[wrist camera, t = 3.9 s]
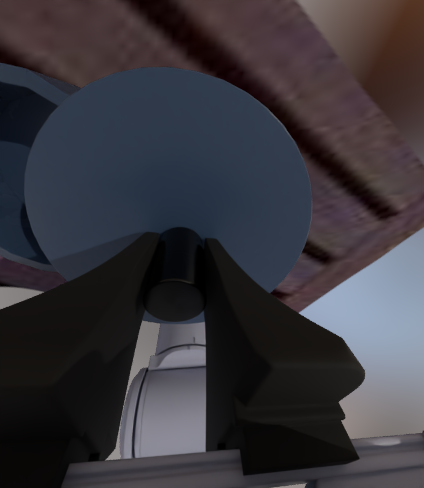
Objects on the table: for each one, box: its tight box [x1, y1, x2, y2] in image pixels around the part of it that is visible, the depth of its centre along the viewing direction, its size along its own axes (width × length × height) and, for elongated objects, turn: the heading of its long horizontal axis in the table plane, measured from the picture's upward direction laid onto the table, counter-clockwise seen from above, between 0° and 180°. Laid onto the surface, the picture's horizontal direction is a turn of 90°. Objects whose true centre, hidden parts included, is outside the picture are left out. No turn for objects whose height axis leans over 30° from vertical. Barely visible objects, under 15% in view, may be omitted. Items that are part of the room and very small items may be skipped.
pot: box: [0, 63, 81, 272], centre depth 15 cm, size 14×14×5 cm
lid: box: [24, 67, 312, 324], centre depth 9 cm, size 15×15×5 cm
